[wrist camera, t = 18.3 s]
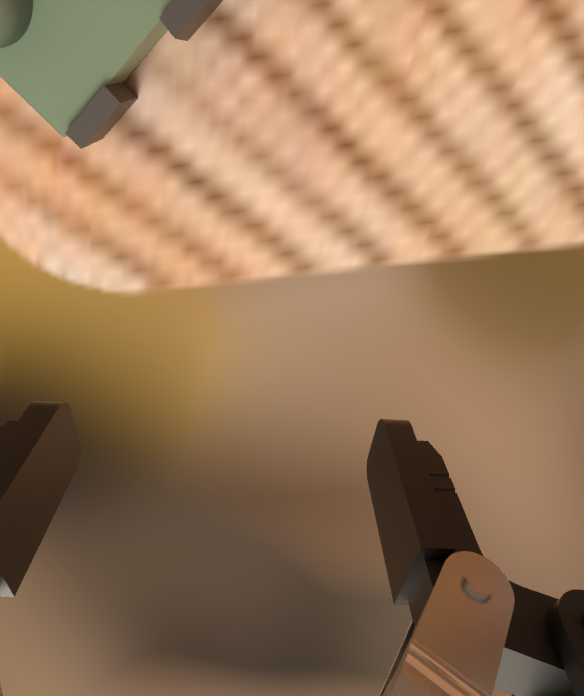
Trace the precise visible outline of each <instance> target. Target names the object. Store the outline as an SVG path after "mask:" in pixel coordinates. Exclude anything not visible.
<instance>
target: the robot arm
mask: <svg viewBox="0 0 584 696" xmlns="http://www.w3.org/2000/svg"><path fill="white" fill-rule="evenodd" d="M80 455H81V444H80V440H79V437H78V433H77V429H76V426H75V422H74V418H73V414H72V411H71V407H70V406H69V404H68V403H63V402H44V401H43V402H42V401H34V402H32V403H31V404H30V405H29V406H28V408H27V409H26V410H25V412H24V413H23V415H22V416H21V417H20V419H19V420H18V421H8V422H6V423H5V424H4V425H2V426H1V427H0V597H14V596H15V594H16V592H17V590H18V588H19V586H20V584H21V582H22V580H23V578H24V576H25V574H26V572H27V570H28V568H29V566H30V564H31V562H32V559H33V558H34V555H35V553H36V551H37V549H38V547H39V545H40V543H41V541H42V539H43V537H44V535H45V533H46V531H47V529H48V527H49V525H50V523H51V521H52V518H53V517H54V514H55V513H56V510H57V508H58V506H59V504H60V502H61V500H62V498H63V496H64V494H65V492H66V490H67V488H68V485H69V484H70V482H71V480H72V478H73V476H74V474H75V472H76V469H77V467H78V464H79V460H80ZM367 480H368V484H369V489H370V494H371V499H372V504H373V508H374V513H375V517H376V522H377V527H378V531H379V536H380V541H381V546H382V550H383V555H384V559H385V565H386V569H387V573H388V579H389V583H390V588H391V593H392V597H393V602H394V605H409V607H410V611H411V615H412V620H413V621H412V623H411V624H410V627H409V629H408V631H407V634H406V636H405V638H404V640H403V643H402V645H401V647H400V649H399V652H398V654H397V656H396V659H395V661H394V663H393V665H392V668H391V670H390V673H389V675H388V677H387V679H386V681H385V684H384V686H383V688H382V690H381V693H380V695H379V696H492V693H493V689H494V687H496V688H498V689H500V690H503V691H506V692H508V693H510V694H511V695H512V696H584V590H570V591H568V592H566V593H564V594H563V596H562V597H561V598H560V599H556V598H553V597H550V596H547V595H544V594H542V593H538V592H536V591H533V590H530V589H527V588H524V587H522V586H519V585H517V584H515V583H513V582H511V581H509V580H508V579H507V577H506V576H505V574H504V573H503V572H502V571H501V570H500V568H499V567H497V566H496V565H495V564H494V563H493V562H492V561H490V560H489V559H487V558H486V557H484V556H483V554H482V553H481V550H480V549H479V546H478V544H477V541H476V539H475V536H474V534H473V532H472V529H471V527H470V524H469V522H468V519H467V517H466V514H465V512H464V510H463V507H462V505H461V502H460V500H459V497H458V495H457V493H455V488H454V485H453V483H452V481H451V478H449V473H448V471H447V468H446V466H445V464H444V461H443V459H442V457H441V455H440V454H439V453H438V452H437V451H436V450H435V449H434V448H433V446H432V445H431V444H430V443H429V442H428V441H417V439H416V437H415V434H414V431H413V428H412V426H411V424H410V422H409V421H407V420H405V421H404V420H386V419H385V420H384V419H380V420H379V421H378V424H377V427H376V430H375V434H374V437H373V441H372V444H371V448H370V452H369V455H368V459H367ZM0 696H3V693H2V687H1V683H0Z"/></svg>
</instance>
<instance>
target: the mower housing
mask: <svg viewBox="0 0 584 696" xmlns="http://www.w3.org/2000/svg"><path fill="white" fill-rule="evenodd" d="M222 1H223V0H0V77H1V78H3V79H4V80H5V81H6V82H7V83H8V84H9V85H10V86H11V87H12V88H13V89H14V90H15V91H16V92H17V93H18V94H19V95H20V96H21V97H22V98H23V99H24V100H25V101H26V102H27V103H28V104H29V105H31V106H32V107H33V108H34V109H35V110H36V111H37V112H38V113H39V114H40V115H41V116H42V117H43V118H44V119H45V120H46V121H47V122H48V123H49V124H50V125H51V126H52V127H53V128H54V129H55V130H56V131H58V132H59V133H60V134H61V135H62V136H63V137H65V136H69V137H70V138H71V139H72V140H73V141H74V142H75V143H76V144H77V145H78V146H79V147H80V148H81V149H82V148H84V147H86V146H88V145H90V144H92V143H95V142H97V141H99V140H101V139H103V138H104V136H105V135H106V134H107V133H108V132H109V131H110V130H111V128H112V127H113V126H114V125H115V124H116V123H117V121H118V120H119V119H120V118H121V117H122V116H123V115H124V113H125V112H126V111H127V110H128V109H129V108H130V107H131V105H132V104H133V103H134V102H135V101H136V100H137V98H138V97H137V96H136V95H135V94H134V93H133V92H132V91H131V90H130V88H129V87H128V86H127V85H126V84H125V83H124V81H125V80H126V79H127V78H128V77H129V75H130V74H131V73H132V72H133V71H134V69H135V68H136V67H137V66H138V65H139V63H140V62H141V61H142V60H143V59H144V57H145V56H146V55H147V54H148V53H149V51H150V50H151V49H152V48H153V47H154V46H155V44H156V43H157V42H158V41H159V40H160V38H161V37H162V36H163V35H164V34H165V32H166V31H167V30H169V31H170V33H171V34H172V35H173V36H174V38H175V39H180V40H185V41H188V40H189V39H190V38H191V36H192V35H193V34H194V33H195V32H196V31H197V29H198V28H199V27H200V26H201V25H202V24H203V23H204V21H205V20H206V19H207V18H208V17H209V16H210V15H211V13H212V12H213V11H214V10H215V9H216V8H217V6H218V5H219V4H220V3H221V2H222Z"/></svg>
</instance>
